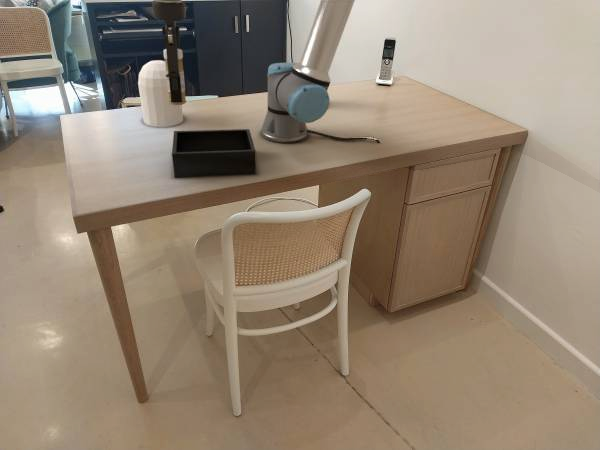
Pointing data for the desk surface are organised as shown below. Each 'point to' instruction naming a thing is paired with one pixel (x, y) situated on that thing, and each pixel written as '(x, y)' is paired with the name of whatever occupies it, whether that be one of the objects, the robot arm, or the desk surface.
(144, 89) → the container
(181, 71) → the sprinkles bottle
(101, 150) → the desk surface
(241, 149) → the black open box
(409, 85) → the desk surface
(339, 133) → the desk surface
